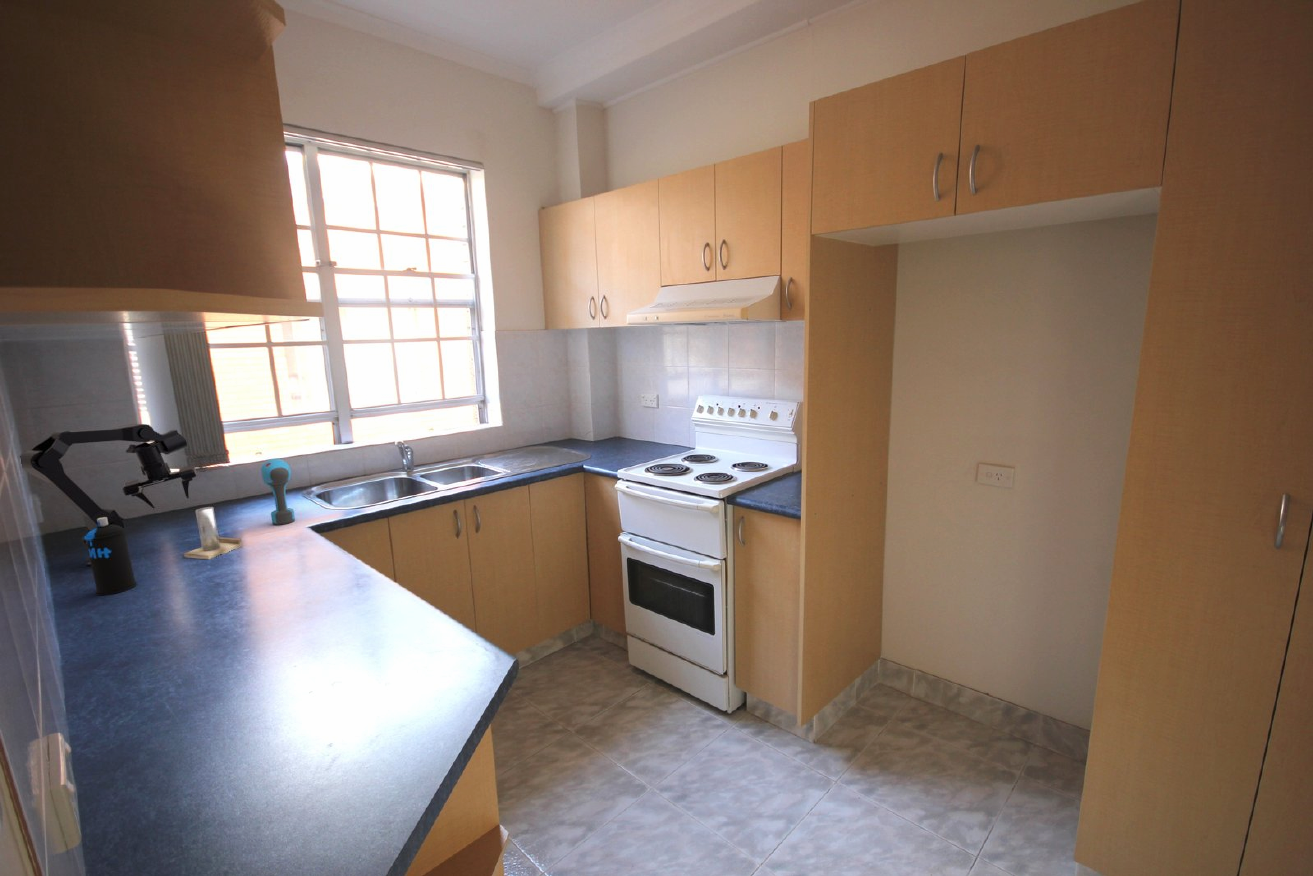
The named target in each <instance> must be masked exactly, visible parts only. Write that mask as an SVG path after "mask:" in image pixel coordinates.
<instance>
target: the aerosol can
mask: <svg viewBox="0 0 1313 876" xmlns="http://www.w3.org/2000/svg"><path fill="white" fill-rule="evenodd" d="M97 522H98V527H97V528H94V529H92V530H91V531H89V532H88V533H87V535H86V536H85V537H84V539H86V543H87V544H86V548H88V550H87V553H88V552H89V554H88V558H89V557H90V559H89V563H90V562H91V565H90V566H91V571H92V576H93V580H94V584H95V588H96V592H95V594H96V595H97V596H110V595H115V594H120V593H123V592H127V591H129V590H131V589H133V588H134V587H136V586H137V585H138V582H137V581H136V580H135V575H134V569H133V565H132V564H133V563H132V560H131V556H130V550H129V545H128V540H127V536H126V529H125V527H124V528H122V527H120V526H117V525H110V524H108V520H107V517H102V518H98V519H97ZM122 591H123V592H122ZM119 592H120V593H119Z"/></svg>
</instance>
